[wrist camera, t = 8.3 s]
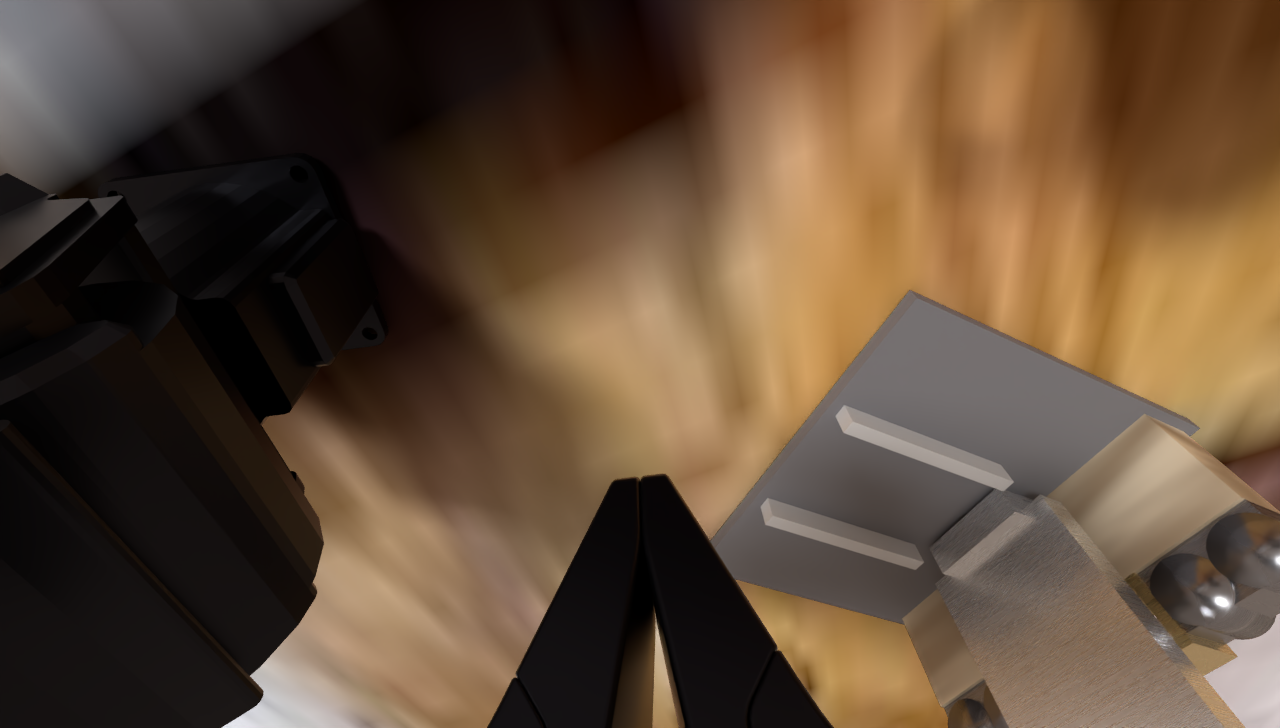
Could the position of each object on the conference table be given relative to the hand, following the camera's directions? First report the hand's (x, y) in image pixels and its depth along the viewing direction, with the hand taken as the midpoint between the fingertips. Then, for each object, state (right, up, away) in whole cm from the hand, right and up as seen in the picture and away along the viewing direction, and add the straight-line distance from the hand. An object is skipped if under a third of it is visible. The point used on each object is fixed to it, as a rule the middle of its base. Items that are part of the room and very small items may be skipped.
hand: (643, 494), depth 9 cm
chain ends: (+18, -9, +15) cm, 25 cm away
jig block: (+18, -6, +19) cm, 27 cm away
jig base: (+13, -4, +18) cm, 22 cm away
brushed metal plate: (+17, -6, +18) cm, 26 cm away
